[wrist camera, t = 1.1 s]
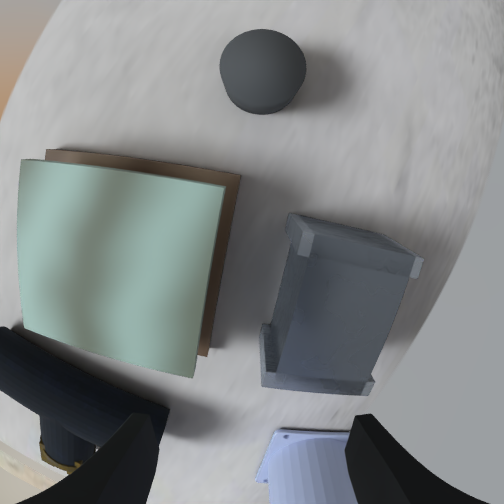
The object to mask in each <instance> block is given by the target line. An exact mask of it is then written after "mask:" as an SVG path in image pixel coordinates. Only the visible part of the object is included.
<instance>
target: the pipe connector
mask: <svg viewBox="0 0 504 504" xmlns="http://www.w3.org/2000/svg"><path fill="white" fill-rule="evenodd" d="M0 390H1V391H2V392H4V393H5V394H7V395H8V396H10V397H11V398H13V399H14V400H16V401H17V402H19V403H20V404H22V405H23V406H25V407H27V408H28V409H30V410H31V411H33V412H35V413H36V414H38V415H40V427H41V436H40V442H39V444H40V451H41V458H42V460H43V461H45V462H46V463H48V464H50V465H52V466H55V467H57V468H59V469H62V470H65V471H67V474H71V473H72V472H73V471H75V470H76V469H77V468H79V467H80V466H81V465H82V464H83V463H84V462H85V461H87V460H88V459H89V458H90V457H91V456H92V455H93V454H94V453H95V452H96V447H95V445H97V446H99V447H102V446H103V445H104V444H105V443H106V442H107V441H108V439H109V438H110V437H111V436H112V435H113V434H114V433H115V432H116V431H117V430H118V429H119V428H120V427H121V425H122V424H123V423H124V422H125V421H126V420H127V419H128V418H129V417H130V415H131V414H133V413H140V414H148V415H150V418H151V422H152V426H153V429H154V433H155V436H156V440H157V443H158V447H159V444H160V441H161V438H162V435H163V432H164V429H165V426H166V422H167V419H168V415H169V411H170V409H168V408H165V407H163V406H160V405H157V404H155V403H152V402H150V401H147V400H145V399H142V398H140V397H137V396H135V395H132V394H130V393H128V392H125V391H123V390H121V389H118V388H116V387H114V386H112V385H110V384H107V383H105V382H103V381H101V380H99V379H97V378H95V377H93V376H91V375H89V374H87V373H85V372H83V371H81V370H79V369H77V368H75V367H73V366H71V365H69V364H67V363H65V362H63V361H62V360H60V359H58V358H56V357H54V356H52V355H51V354H49V353H47V352H45V351H44V350H42V349H40V348H39V347H37V346H35V345H34V344H32V343H30V342H29V341H27V340H25V339H24V338H22V337H21V336H19V335H17V334H16V333H14V332H13V331H11V330H10V329H8V328H7V327H0Z"/></svg>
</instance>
